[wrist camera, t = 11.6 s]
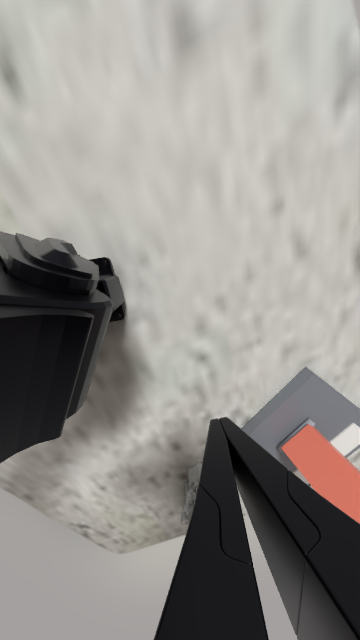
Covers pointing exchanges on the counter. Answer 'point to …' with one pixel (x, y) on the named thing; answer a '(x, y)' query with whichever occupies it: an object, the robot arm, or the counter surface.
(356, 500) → the lever
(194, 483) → the grey lumpy stone piece
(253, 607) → the robot arm
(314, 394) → the base
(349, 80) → the counter surface
